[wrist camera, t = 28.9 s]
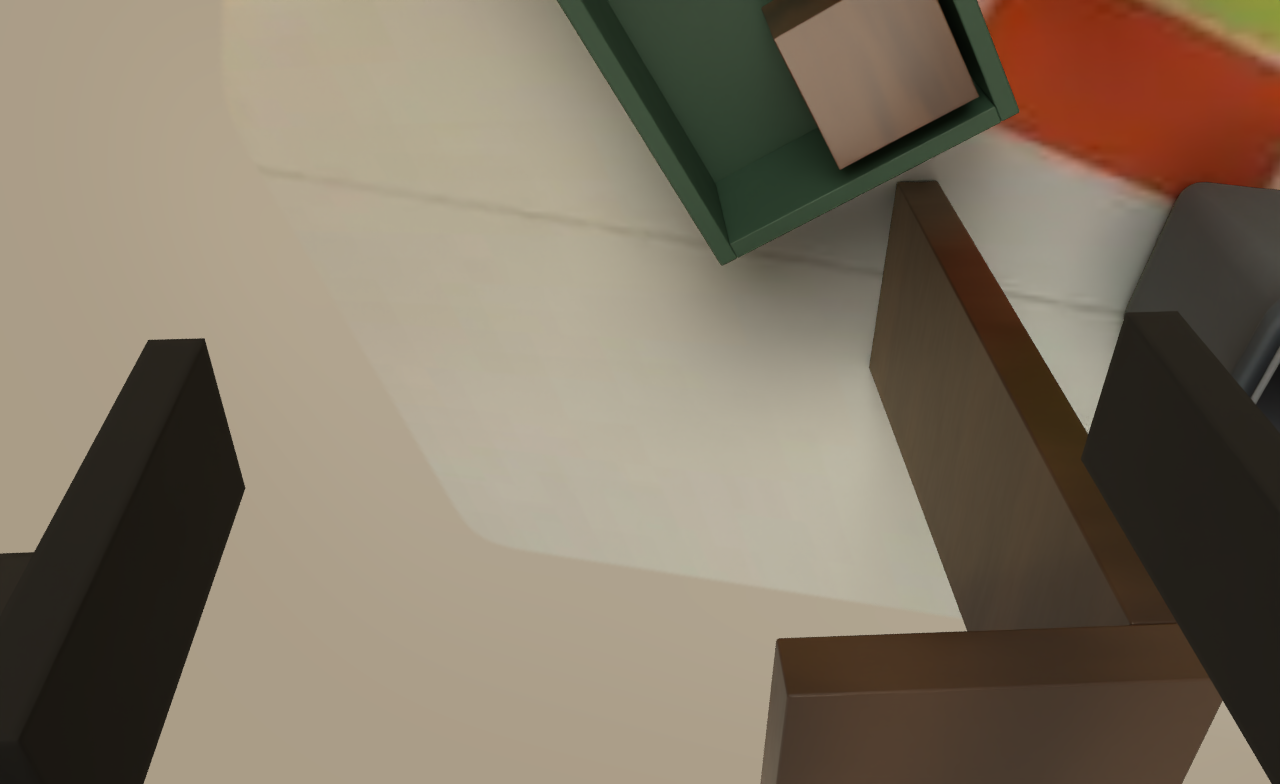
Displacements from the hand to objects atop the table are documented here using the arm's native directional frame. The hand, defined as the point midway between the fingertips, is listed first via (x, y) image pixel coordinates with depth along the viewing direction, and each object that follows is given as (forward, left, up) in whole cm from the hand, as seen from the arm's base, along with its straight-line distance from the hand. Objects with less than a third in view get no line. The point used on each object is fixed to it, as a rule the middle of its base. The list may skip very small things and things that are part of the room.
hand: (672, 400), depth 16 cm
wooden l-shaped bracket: (-2, -22, -36) cm, 42 cm away
